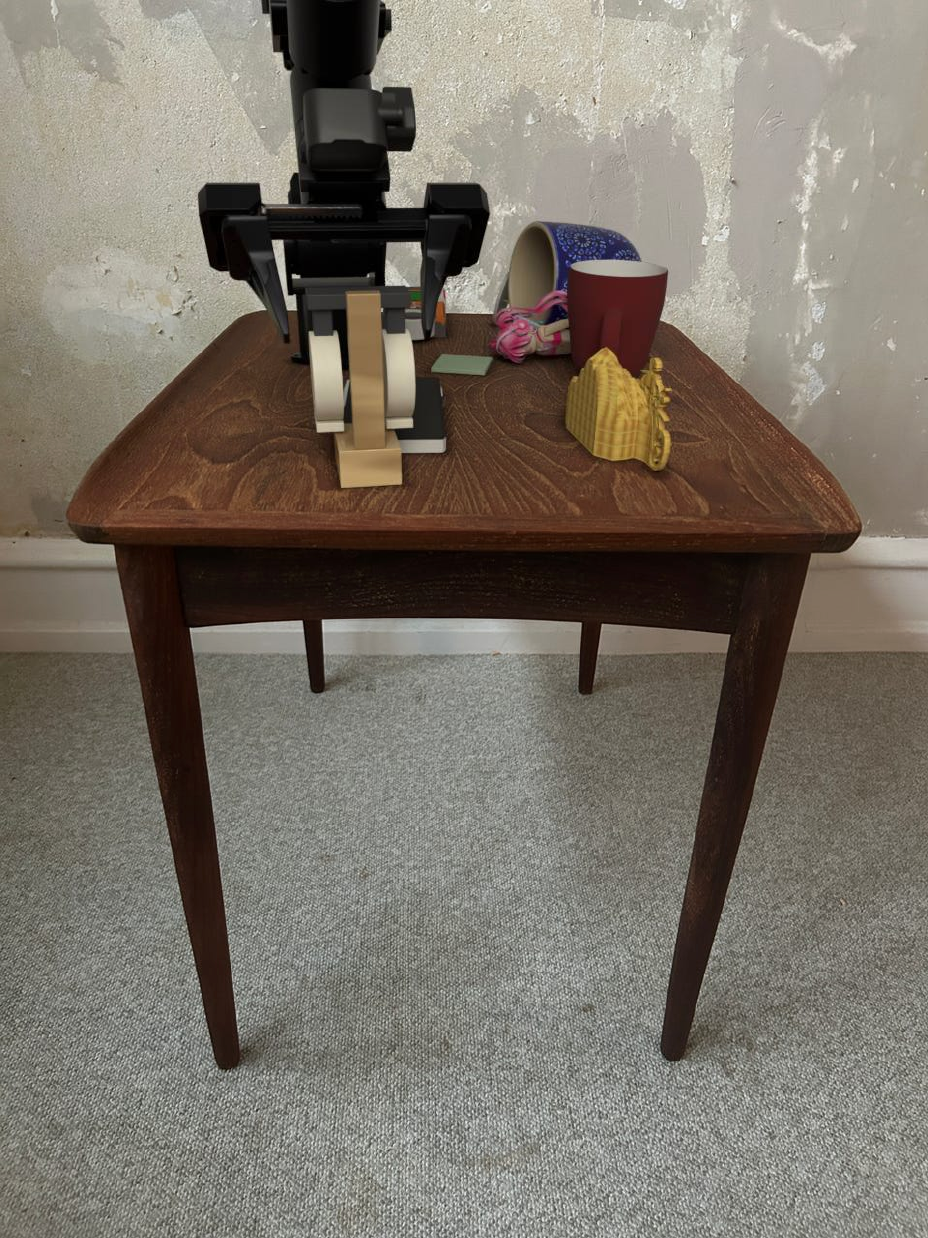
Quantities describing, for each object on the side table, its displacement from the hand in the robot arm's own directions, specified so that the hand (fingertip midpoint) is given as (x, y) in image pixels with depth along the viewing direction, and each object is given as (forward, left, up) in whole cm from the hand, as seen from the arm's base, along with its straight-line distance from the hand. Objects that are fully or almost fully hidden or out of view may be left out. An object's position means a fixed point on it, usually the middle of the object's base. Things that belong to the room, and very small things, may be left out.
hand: (358, 337), depth 57 cm
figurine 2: (+15, +9, -8) cm, 20 cm away
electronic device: (-13, +38, -8) cm, 41 cm away
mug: (+12, +22, -8) cm, 27 cm away
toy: (+5, +32, -8) cm, 34 cm away
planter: (+8, +44, -3) cm, 45 cm away
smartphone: (-2, +8, -8) cm, 12 cm away
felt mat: (-3, +25, -8) cm, 26 cm away
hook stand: (+1, -2, -8) cm, 9 cm away
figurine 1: (-5, +42, -5) cm, 43 cm away
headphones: (0, -1, -5) cm, 5 cm away
